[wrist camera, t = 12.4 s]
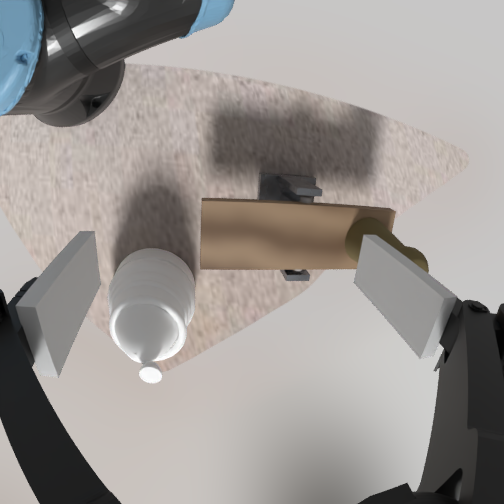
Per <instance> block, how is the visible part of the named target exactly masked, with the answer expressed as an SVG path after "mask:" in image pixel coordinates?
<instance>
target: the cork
mask: <svg viewBox="0 0 504 504" xmlns="http://www.w3.org/2000/svg"><path fill="white" fill-rule="evenodd" d="M363 235H377V236H378V237H379V238H381V239H382V240H384V241H385V242H386V243H388V244H389V245H391V246H392V247H393V248H395V249H396V250H398V251H399V252H400V253H402V254H403V255H404V256H406V257H407V258H408V259H410V260H411V261H412V262H414V263H415V264H416V265H418V266H419V267H420V268H422V269H423V270H424V271H426V272H427V273H428V271H429V270H428V263H427V260H426V258H425V257H424V255H423V254H422V253H421V252H420V251H418V250H417V249H415V248H412V247H407V246H404V245H403V244H402V243H401V242H400V241H399V240H398V239H397V238H396V237H395V236H394V235H393V234H392V233H391V232H390V231H389V230H388V229H387V228H386V227H385V226H384V225H383V224H382V223H381V222H380V221H378V220H377V219H375V218H371V217H368V218H363V219H360V220H358V221H357V222H355V223H354V224H353V225H352V226H351V228H350V229H349V231H348V232H347V235H346V238H345V249H346V253H347V254H348V256H349V257H350V258H351V259H352V260H354V261H356V262H357V263H358V260H359V256H360V251H361V245H362V240H363Z"/></svg>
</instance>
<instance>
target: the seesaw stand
mask: <svg viewBox="0 0 504 504" xmlns="http://www.w3.org/2000/svg"><path fill="white" fill-rule="evenodd" d="M315 185H316V178H315V177H308V176H296V175H282V174H267V173H259V185H258V197H257V200H278V201H297V202H300V196H309V197H312V202H313V201H314V196H322V189H320V188H318V187H317V186H315ZM280 271H281V272H282V274H283V276H284V278H285V280H286V281H309V277H310V274H309V273H308V272H307V270H306V269H302V270H301V271H294V270H280Z"/></svg>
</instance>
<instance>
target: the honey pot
mask: <svg viewBox="0 0 504 504" xmlns="http://www.w3.org/2000/svg"><path fill="white" fill-rule="evenodd" d="M107 298H108V306H109V313H110V320H109V329H110V334H111V336H112V338H113V340H114V342H115V343H116V344H117V345H118V346H119V348H120V349H121V350H123V351H124V352H125V353H126V354H127V356H129V357H130V358H131V359H132V360H134V361H136V362H139V363H142V364H143V366H142V367H141V369H140V373H139V374H140V377H141V378H142V380H144V381H145V382H148V383H157V382H159V381H160V380H161V379H162V371H161V368H160V367H159V365H158V364H157V363H155V362H152V361H158V360H164V359H166V358H169V357H171V356H173V355H174V354H176V353H177V352H178V351H179V350H180V349H181V348H182V346H183V345H184V342H185V339H186V336H187V325H188V324H189V323H190V321H191V319H192V316H193V314H194V311H195V282H194V278H193V274H192V272H191V270H190V269H189V267H188V265H187V264H186V263H185V262H184V261H183V260H182V259H181V258H180V257H178V256H176V255H175V254H173V253H171V252H169V251H166V250H163V249H159V248H146V249H141V250H137V251H135V252H133V253H131V254H129V255H128V256H127V257H126V258H125V259H124V260H123V261H122V262H121V263H120V265H119V267H118V269H117V270H116V273H115V275H114V277H113V279H112V281H111V283H110V285H109V290H108V297H107ZM176 340H177V341H176ZM175 341H176V342H175ZM174 343H175V344H174ZM173 344H174V345H173ZM172 345H173V346H172Z"/></svg>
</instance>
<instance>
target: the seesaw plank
mask: <svg viewBox="0 0 504 504" xmlns="http://www.w3.org/2000/svg"><path fill="white" fill-rule="evenodd" d="M395 213H396V211H394V210H392V209H390V208H381V207H369V206H357V205H344V204H330V203H314V202H312V197H309V196H300V202H297V201H278V200H255V199H226V198H202V210H201V249H200V269H220V270H294V271H301V270H302V269H357V265H358V263H357V262H356V261H354V260H352V259H351V258H350V257H349V256H348V254H347V253H346V249H345V238H346V235H347V232H348V231H349V229H350V228H351V226H352V225H353V224H354V223H355V222H357V221H358V220H360V219H363V218H368V217H371V218H375V219H377V220H378V221H380V222H381V223H382V224H383V225H384V226H385V227H386V228H387V229H388V230H389V231H390V232H391V233H392V228H393V223H394V218H395Z"/></svg>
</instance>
